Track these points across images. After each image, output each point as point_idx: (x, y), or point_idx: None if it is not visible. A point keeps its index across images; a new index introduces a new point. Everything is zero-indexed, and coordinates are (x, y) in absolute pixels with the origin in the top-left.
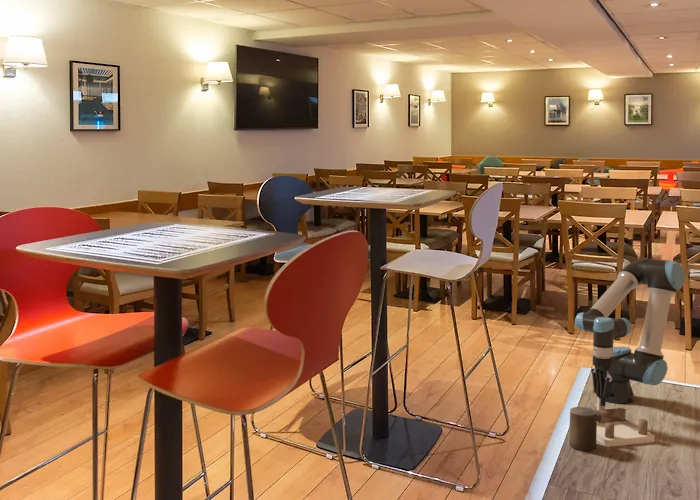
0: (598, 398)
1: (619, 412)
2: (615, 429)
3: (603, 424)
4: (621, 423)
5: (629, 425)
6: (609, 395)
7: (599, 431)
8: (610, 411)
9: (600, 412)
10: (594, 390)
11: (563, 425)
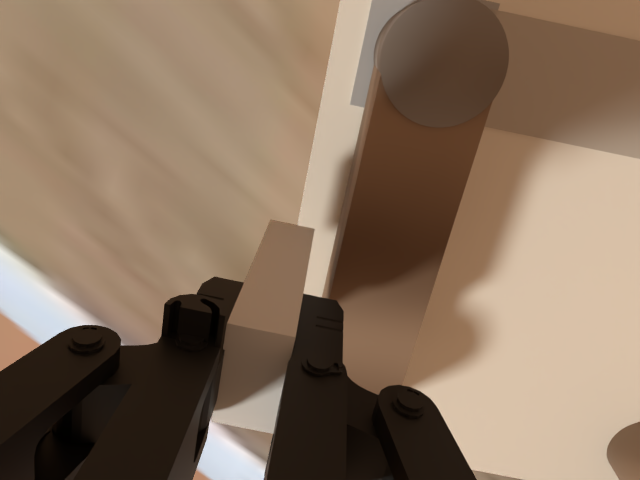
0: (252, 416)
1: (474, 144)
2: (574, 308)
3: (426, 317)
4: (504, 143)
5: (598, 109)
6: (452, 440)
7: (520, 441)
8: (423, 264)
9: (387, 382)
10: (68, 455)
11: (205, 459)
